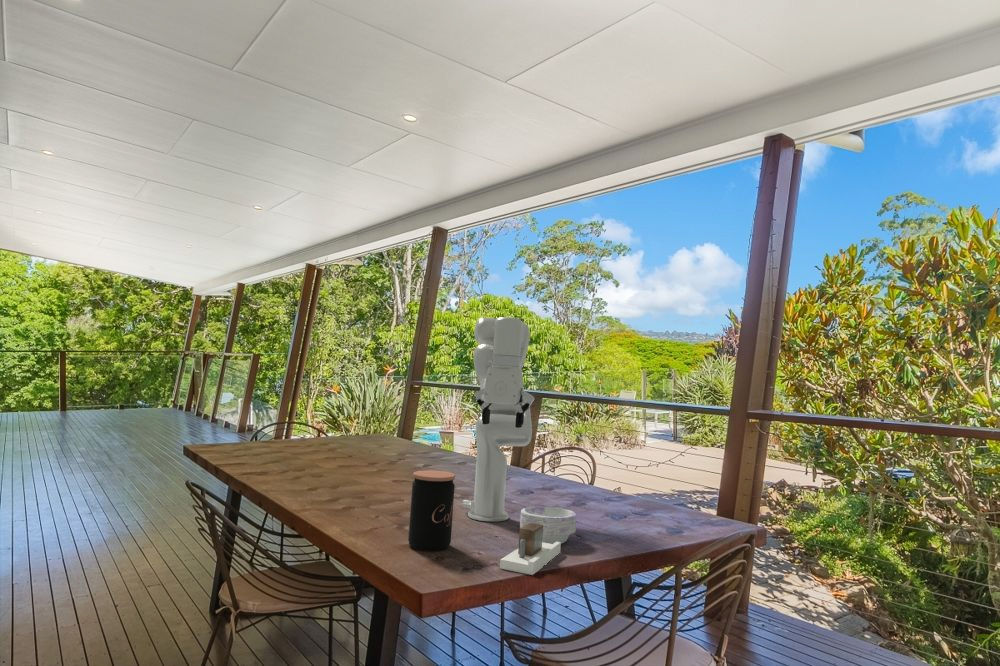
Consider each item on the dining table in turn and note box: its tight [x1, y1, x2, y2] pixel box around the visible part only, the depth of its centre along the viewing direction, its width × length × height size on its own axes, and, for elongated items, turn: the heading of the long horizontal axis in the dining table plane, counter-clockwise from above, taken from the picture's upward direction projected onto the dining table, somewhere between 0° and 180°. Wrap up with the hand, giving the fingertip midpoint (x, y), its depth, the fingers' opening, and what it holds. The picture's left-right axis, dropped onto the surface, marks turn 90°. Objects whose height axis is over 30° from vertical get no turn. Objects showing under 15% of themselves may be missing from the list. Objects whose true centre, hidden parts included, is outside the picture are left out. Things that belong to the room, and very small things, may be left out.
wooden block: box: [517, 523, 543, 556], centre depth 150 cm, size 4×7×6 cm, turn 157°
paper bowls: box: [519, 505, 577, 545], centre depth 169 cm, size 15×15×8 cm
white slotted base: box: [499, 539, 562, 576], centre depth 149 cm, size 8×20×6 cm, turn 156°
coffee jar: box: [407, 469, 456, 552], centre depth 157 cm, size 11×11×18 cm
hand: (502, 425), depth 168 cm, fingers open, 9 cm apart
